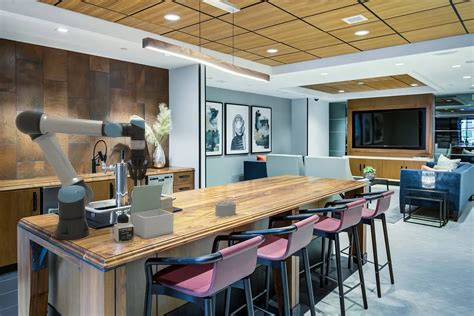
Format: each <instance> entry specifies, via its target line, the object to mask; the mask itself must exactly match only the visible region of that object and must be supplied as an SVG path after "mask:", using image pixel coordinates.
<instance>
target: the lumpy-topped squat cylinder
mask: <svg viewBox="0 0 474 316" xmlns="http://www.w3.org/2000/svg"><path fill="white" fill-rule="evenodd" d="M236 205H237V204H236V203H235V202H234V201H233V200H228V199H226V200H222V199H221V200H219V201H218V202H216V203H215V211H214V212H215V217H218V216H219V217H220V218H224V217H225V218H227V217H226V216H229V217H233V216H232V215H234V216H236V215H235V214H237V212H236V209H237V208H236V207H237V206H236ZM219 217H218V218H219Z"/></svg>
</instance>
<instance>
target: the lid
mask: <svg viewBox="0 0 474 316" xmlns="http://www.w3.org/2000/svg"><path fill="white" fill-rule="evenodd" d="M163 186H164V184H163V183H156V184H145V185H141V186H134V185H133V188H132V195H131V196H132V197H131V203H130V211H129V212H130V214H131V213H134V212H140V211H147V210H153V209H159V206H160V200H161V198H162V192H163Z"/></svg>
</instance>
